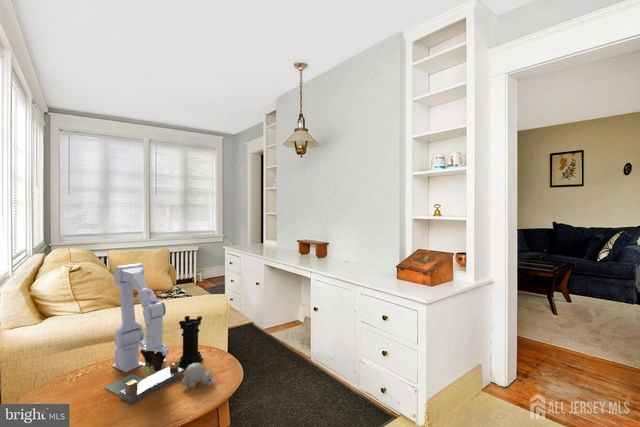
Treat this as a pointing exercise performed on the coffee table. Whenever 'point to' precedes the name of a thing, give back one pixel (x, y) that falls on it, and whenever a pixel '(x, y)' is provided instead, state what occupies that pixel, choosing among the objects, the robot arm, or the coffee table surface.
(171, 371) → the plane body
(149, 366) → the pale yellow block
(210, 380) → the chubby cartoon animal
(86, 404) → the coffee table surface
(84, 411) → the coffee table surface
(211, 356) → the coffee table surface
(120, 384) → the rubber mat
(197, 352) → the chess piece
